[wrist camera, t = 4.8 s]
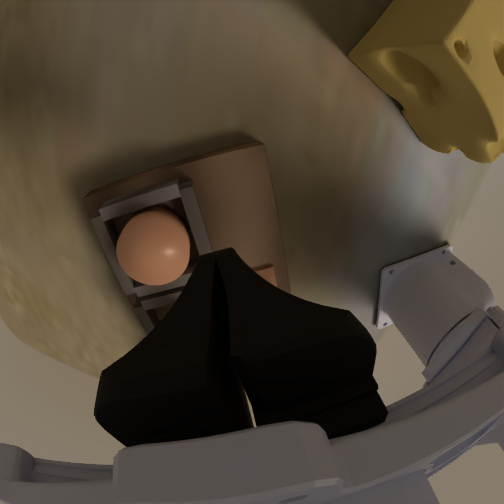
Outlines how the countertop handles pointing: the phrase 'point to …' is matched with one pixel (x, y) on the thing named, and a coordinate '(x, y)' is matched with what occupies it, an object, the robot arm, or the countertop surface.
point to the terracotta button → (154, 246)
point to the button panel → (197, 218)
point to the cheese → (442, 71)
